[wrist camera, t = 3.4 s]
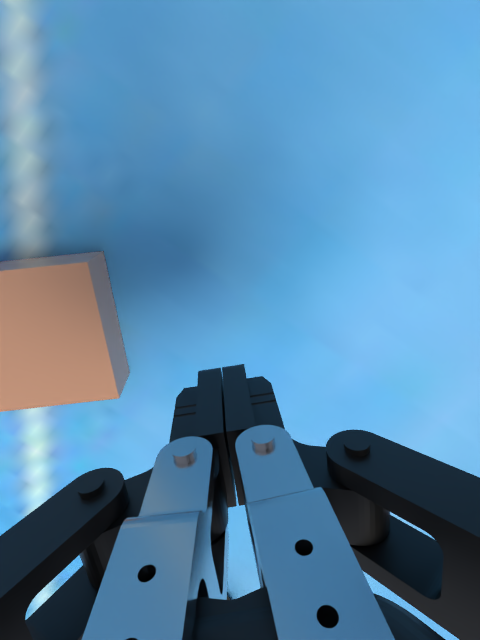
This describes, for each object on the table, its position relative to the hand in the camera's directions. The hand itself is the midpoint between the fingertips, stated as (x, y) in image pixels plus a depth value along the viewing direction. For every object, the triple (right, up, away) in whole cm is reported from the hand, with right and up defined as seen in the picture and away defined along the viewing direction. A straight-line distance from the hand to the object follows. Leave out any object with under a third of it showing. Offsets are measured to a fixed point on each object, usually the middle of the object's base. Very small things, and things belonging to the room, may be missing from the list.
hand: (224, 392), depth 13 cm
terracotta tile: (-10, +2, +8) cm, 13 cm away
